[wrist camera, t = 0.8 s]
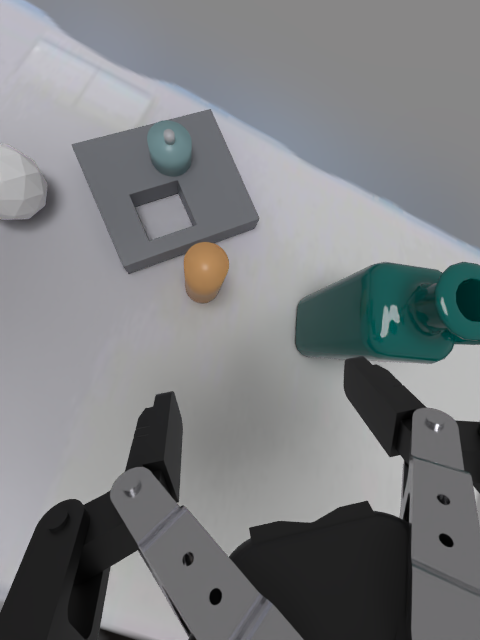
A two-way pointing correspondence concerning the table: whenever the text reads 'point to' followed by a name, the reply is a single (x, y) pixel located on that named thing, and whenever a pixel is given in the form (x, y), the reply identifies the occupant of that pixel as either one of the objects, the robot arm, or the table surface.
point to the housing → (166, 185)
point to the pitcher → (392, 314)
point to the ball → (20, 185)
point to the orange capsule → (205, 271)
